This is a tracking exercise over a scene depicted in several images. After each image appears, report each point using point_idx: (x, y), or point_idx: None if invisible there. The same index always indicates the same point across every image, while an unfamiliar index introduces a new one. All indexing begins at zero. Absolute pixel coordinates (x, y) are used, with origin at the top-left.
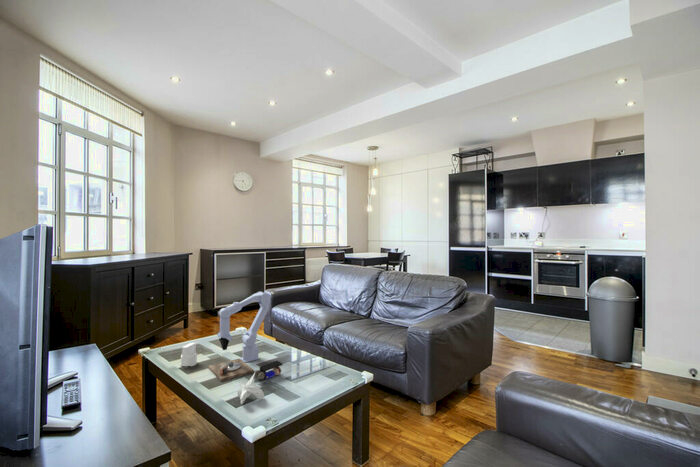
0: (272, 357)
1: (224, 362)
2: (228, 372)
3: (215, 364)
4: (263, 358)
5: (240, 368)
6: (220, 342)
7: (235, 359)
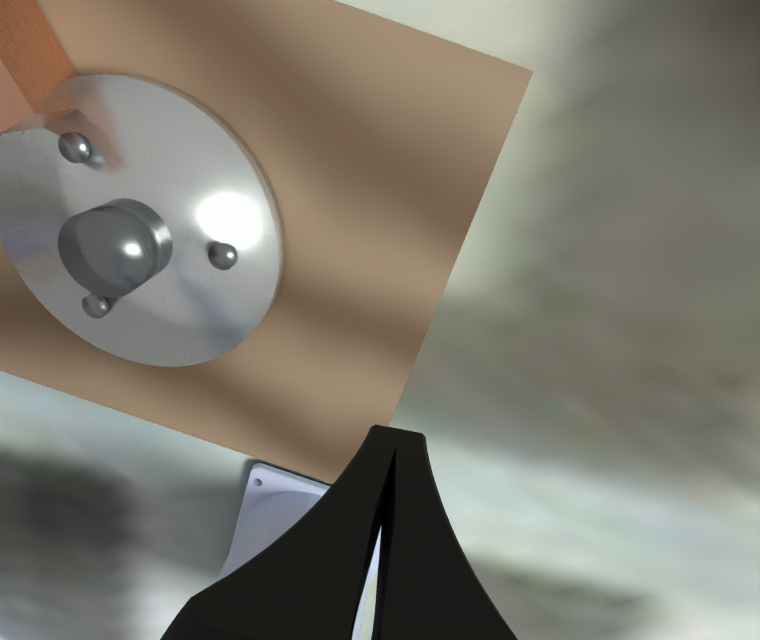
0: None
1: (411, 318)
2: None
3: (468, 190)
4: None
5: None
6: (475, 580)
7: None
